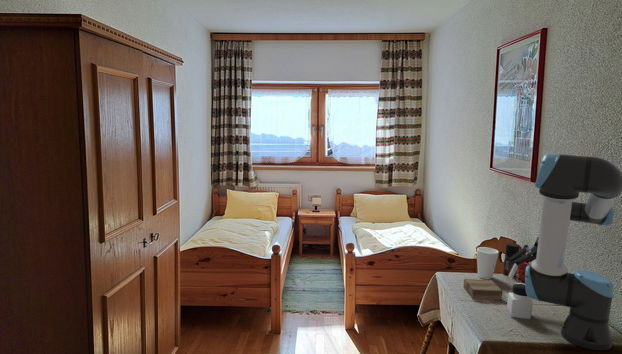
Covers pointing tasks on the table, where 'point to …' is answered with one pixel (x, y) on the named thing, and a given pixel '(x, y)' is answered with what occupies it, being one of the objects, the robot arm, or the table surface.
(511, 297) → the medicine bottle
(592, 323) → the robot arm
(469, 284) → the walnut plinth
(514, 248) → the deodorant
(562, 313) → the table surface
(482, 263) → the foam cup
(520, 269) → the plant pot
